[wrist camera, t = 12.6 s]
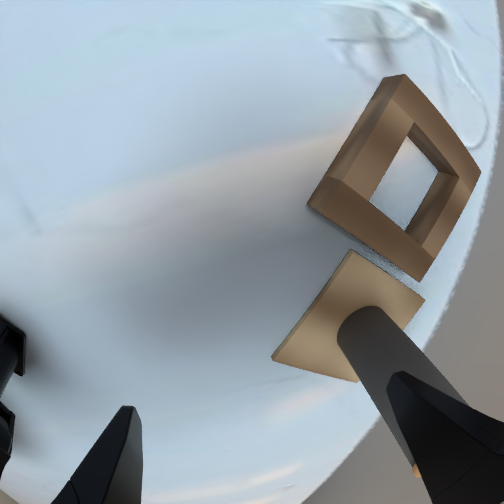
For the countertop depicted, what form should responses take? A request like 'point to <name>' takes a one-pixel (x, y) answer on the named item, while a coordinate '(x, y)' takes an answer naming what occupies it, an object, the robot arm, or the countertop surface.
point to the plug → (386, 362)
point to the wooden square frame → (376, 164)
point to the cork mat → (344, 316)
